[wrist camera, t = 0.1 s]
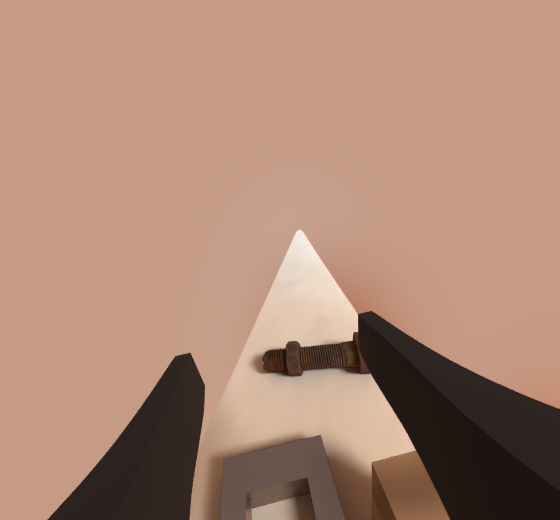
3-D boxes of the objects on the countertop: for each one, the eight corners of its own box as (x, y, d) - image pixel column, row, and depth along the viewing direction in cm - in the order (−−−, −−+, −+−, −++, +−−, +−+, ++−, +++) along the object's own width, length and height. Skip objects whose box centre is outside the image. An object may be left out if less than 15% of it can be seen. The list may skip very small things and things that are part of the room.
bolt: (270, 375, 38) (368, 368, 36) (263, 388, 34) (375, 380, 31) (266, 338, 39) (361, 328, 37) (258, 345, 34) (368, 334, 32)
